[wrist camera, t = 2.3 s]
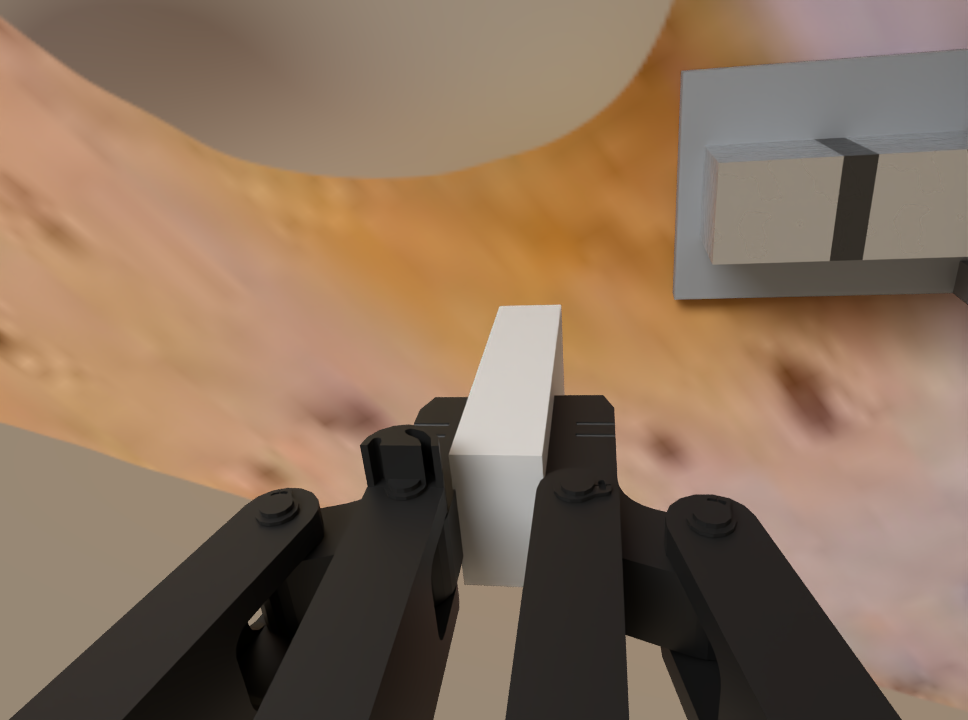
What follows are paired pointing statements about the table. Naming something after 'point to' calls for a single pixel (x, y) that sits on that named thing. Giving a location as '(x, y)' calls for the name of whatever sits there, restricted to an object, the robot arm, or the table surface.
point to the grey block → (836, 199)
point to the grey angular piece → (804, 116)
